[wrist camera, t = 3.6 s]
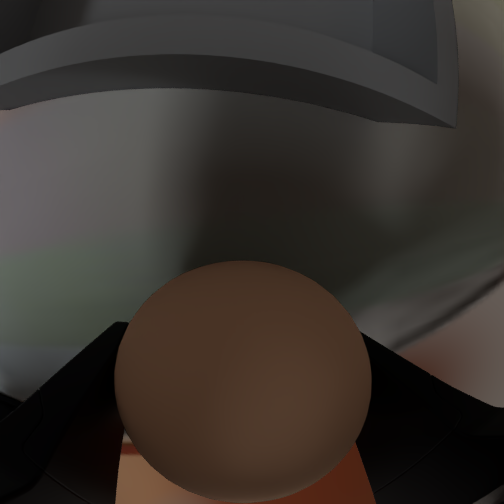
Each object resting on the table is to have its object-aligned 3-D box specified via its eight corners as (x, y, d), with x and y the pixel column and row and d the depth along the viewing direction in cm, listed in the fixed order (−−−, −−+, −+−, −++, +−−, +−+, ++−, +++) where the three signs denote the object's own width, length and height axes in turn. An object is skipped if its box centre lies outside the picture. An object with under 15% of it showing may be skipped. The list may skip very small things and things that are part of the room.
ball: (149, 369, 9) (137, 515, 4) (132, 218, 7) (16, 405, 2) (298, 368, 10) (347, 497, 5) (337, 230, 8) (482, 370, 3)
